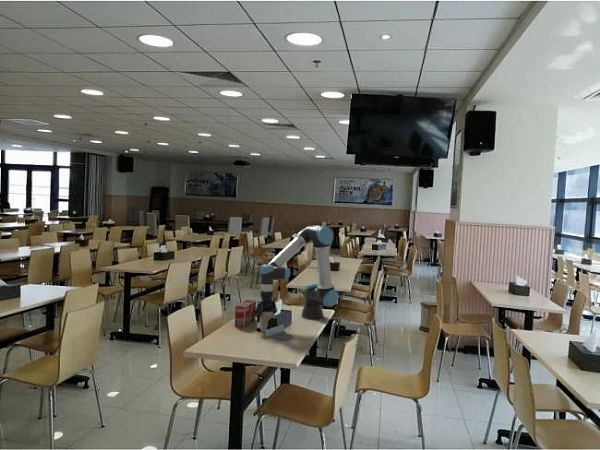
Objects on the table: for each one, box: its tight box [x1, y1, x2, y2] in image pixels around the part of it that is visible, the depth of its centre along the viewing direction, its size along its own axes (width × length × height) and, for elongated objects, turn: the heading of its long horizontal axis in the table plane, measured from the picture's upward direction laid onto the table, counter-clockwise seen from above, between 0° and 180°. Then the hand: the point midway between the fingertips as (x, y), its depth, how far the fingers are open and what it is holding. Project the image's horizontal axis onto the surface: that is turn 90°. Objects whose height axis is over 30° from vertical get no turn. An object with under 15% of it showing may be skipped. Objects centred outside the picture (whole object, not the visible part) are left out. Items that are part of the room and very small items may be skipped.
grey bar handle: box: [263, 324, 286, 338], centre depth 281 cm, size 16×3×4 cm, turn 145°
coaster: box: [272, 332, 294, 341], centre depth 274 cm, size 12×12×1 cm
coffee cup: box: [260, 306, 274, 334], centre depth 286 cm, size 9×9×15 cm
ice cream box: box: [234, 299, 257, 329], centre depth 302 cm, size 20×6×13 cm, turn 166°
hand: (265, 325), depth 286 cm, fingers open, 12 cm apart
